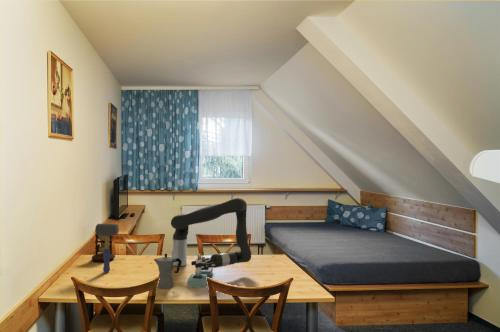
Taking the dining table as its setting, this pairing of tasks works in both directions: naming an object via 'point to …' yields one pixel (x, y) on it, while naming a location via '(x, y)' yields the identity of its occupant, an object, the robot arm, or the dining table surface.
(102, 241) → the dark brown lantern
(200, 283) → the rack block
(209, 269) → the socket block
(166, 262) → the coffeepot
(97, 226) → the rubber mallet
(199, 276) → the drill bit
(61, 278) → the dining table surface
